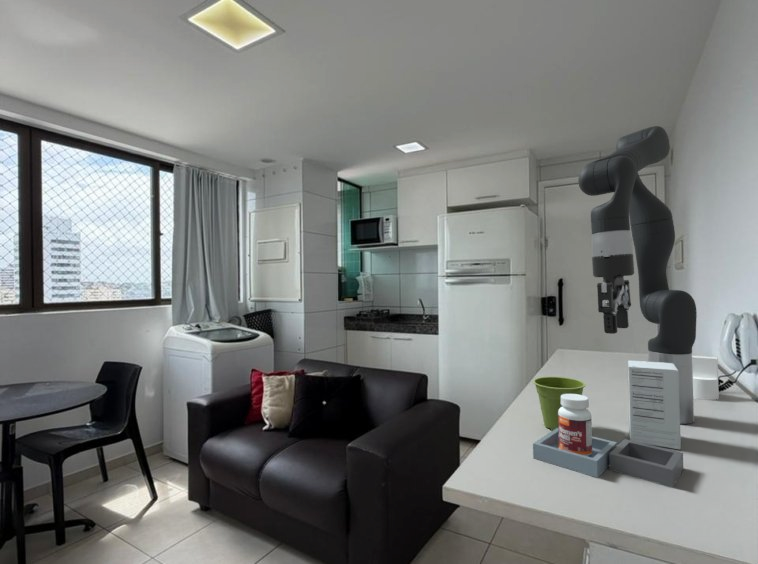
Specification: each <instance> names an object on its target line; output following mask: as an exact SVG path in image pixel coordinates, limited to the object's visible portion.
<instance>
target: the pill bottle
mask: <svg viewBox="0 0 758 564" xmlns="http://www.w3.org/2000/svg"><path fill="white" fill-rule="evenodd" d="M561 405H562V406H563V407H561V408H560V409H559V410H558V423H559V449H562V450H566V451H569V452H573V453H577V454H580V455H584V456H588V457H589V456H590V455H591V454H592V437H593V432H592V431H593V429H592V426H593V423H592V413H591V411H590V410H589V409H588V408H589V406H590V404H589V397H588V396H586V395H584V394H582V395H579V394H563V395H561Z"/></svg>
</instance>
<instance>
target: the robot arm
mask: <svg viewBox="0 0 758 564" xmlns="http://www.w3.org/2000/svg"><path fill="white" fill-rule="evenodd" d="M670 144H671V143H670V139H669V136H668V133H667V131H666V130H665V128H663V127H662V126H658V125H656V126H650V127H646V128H644V129H641V130H638V131H634V132H631V133H630V134H627V135H624V136H621V137H620V138H618V139H617V141H616V147H615V151H613V152H612V153H610V154H609V155H608V156H605V157H602V158H599V159H596V160H594V161H591V162H588V163H587V164H585V165H584V166H583V167H582V169H581V170H580V172H579V175H578V180H577V183H578V186H579V188H580V190H581V192H582V193H584V194H585V195H587V196H591V197H596V196H601V195H606V194H611V193H612V194H613V195H612V197H611V199H610V200H608V201H606V202H604V203H603V204H600V205H597V206H595V207H593V208H592V209H591V211H590V223H591V224H590V227H591V242H590V243H591V245H590V248H591V261H592V263H591V264H592V276H593V277H595V278H602V279H603V280H602V282H598V283H597V284H596V287H597V305H598V306H597V307H598V308H597V310H598V313H601V315H602V316H603V317H602V318H603V330H604V331H603V332H604V333H606V334H611V335H612V334H617V333H618V329H628V328H629V313H628V311H629V309H630V308H631V306H632V302H631V291H630V281H629V279H625V278H624V277H627V276H633V275H634V274H635V264H634V263H635V262H634V254H635V260H636V267H637V268H636V269H637V273H638V274H637V275H638V291H639V292H638V293H639V294H638V295H639V296H638V297H639V308H640V312H641V314H642V315H643V317H644V318H645V320H647V321H648V322H650V323H652V324H656V325H659V326H658V334H657V335H656V336H655V337H652V338H650V339H649V340H648V341H647V355H648V356H647V359H648V361H647V362H663V363H673V364H674V365H675V367H676V368H677V370H678V371H679V403H680V425H681V424H684V425H685V424H692V423H693V422H694V421H695V415H694V414H695V413H694V412H695V411H694V408H695V407H694V398H693V368H692V356H693V346H694V345H695V341H696V339H697V337H696V336H697V316H698V315H697V306H696V305H697V304H696V302H695V299H694V298H693V296H692V295H691V294H690V293H689V292H687V291H684V290H680V289H679V290H678V289H670V287H669V282H668V276H667V268H668V262H669V260H670V257H671V255H672V252H673V250H674V249H673V248H674V246H675V245H674V244H675V241H676V232H675V226H674V220H673V213H672V211H671V209H669V207H668V206H667V205H666V204H665V203H664V201H662V200H661V199H660V198H659V197H657V196H656V195H655V194H654V193H653V192H652V191H650V190H649V188H647V186H646V185H645V184H644V182H643V181H642V179H641V178H640V175H639V172H640V171H641V170H643V169H644V168H646V167H648V166H650V165H654V164H656V163H659V162H661V161H663V160H665V159H666V158H667V157H668V156H669V154H670V153H669V152H670V146H671V145H670ZM633 246H634V248H633ZM634 252H635V253H634Z"/></svg>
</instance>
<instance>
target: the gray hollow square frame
mask: <svg viewBox="0 0 758 564" xmlns="http://www.w3.org/2000/svg"><path fill="white" fill-rule="evenodd" d="M609 460H610V465H609V470H611V471H614V472H618V473H621V474H625V475H627V476H632V477H634V478H639V479H641V480H644V481H648V482H653V483H656V484H660V485H662V486H665V487H669V488H674V486H675V484H676V482H677V481H678V479H679V477H680V476H681V474H682V472H683V470H684V452H680V451H679V450H672V449H670V448H668V449H667V448H666V447H661V446H655V445H649V444H643V443H639V442H634V441H630V439H625V438H624V439H623V440H621V442H619V444H617V447H616V448H615V449H614V450H613V451H612V452H611V453H610V454H609Z"/></svg>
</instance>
